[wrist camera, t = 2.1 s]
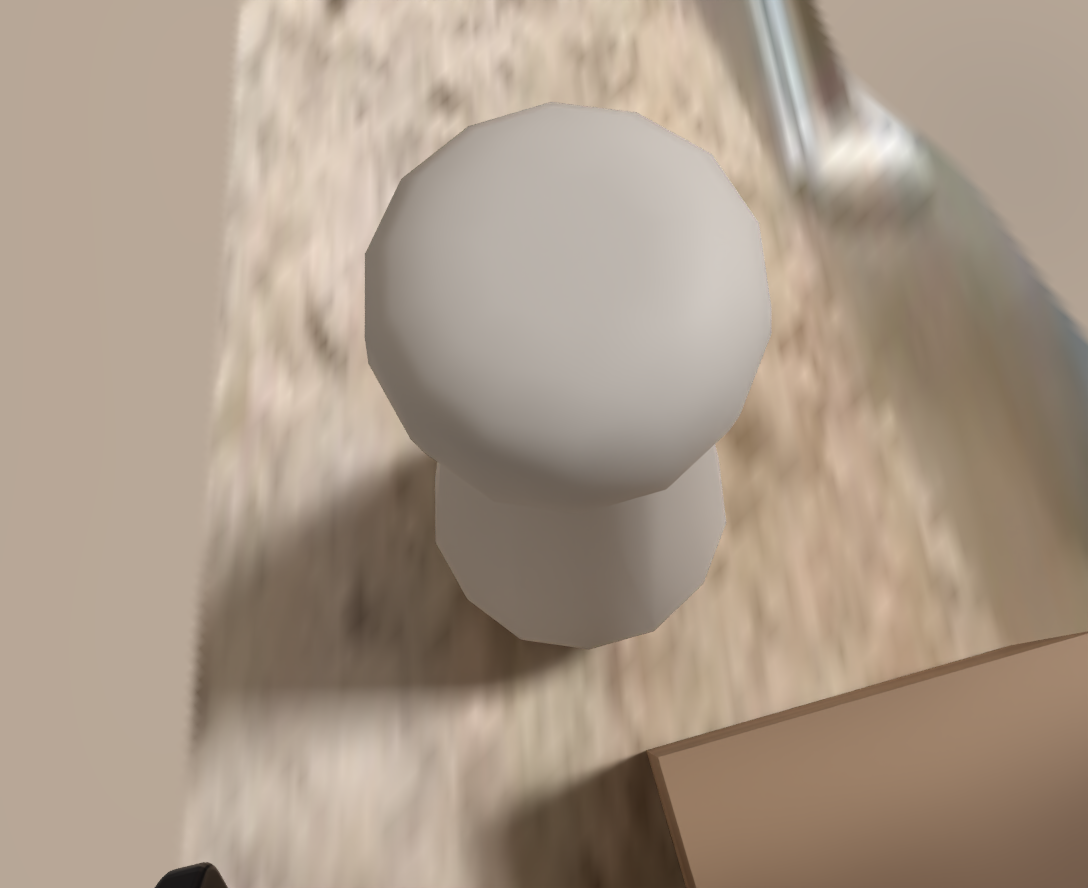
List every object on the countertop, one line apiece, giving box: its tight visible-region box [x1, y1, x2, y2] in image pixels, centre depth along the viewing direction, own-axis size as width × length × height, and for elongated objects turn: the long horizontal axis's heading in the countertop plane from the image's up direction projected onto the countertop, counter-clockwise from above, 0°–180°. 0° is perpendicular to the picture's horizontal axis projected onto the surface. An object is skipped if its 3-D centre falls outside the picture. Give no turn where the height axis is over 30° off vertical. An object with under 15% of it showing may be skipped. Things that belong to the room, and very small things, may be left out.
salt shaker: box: [365, 102, 771, 649], centre depth 15 cm, size 6×6×13 cm
